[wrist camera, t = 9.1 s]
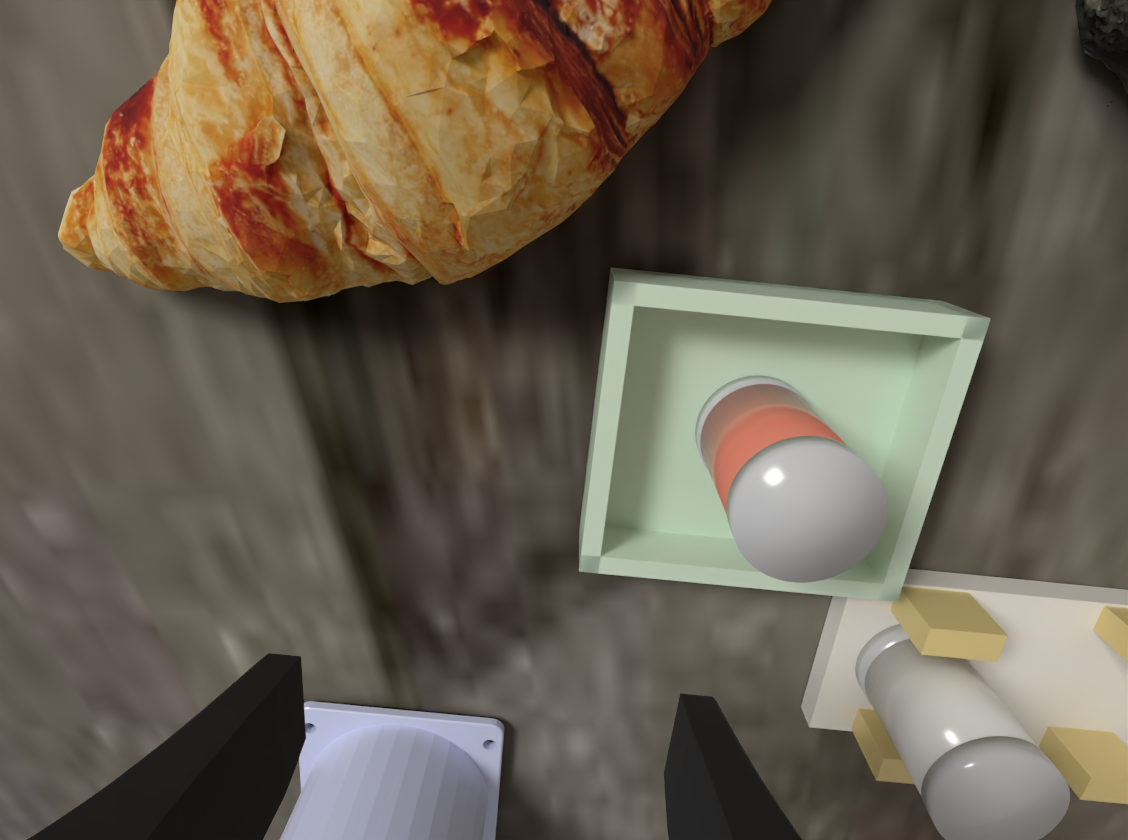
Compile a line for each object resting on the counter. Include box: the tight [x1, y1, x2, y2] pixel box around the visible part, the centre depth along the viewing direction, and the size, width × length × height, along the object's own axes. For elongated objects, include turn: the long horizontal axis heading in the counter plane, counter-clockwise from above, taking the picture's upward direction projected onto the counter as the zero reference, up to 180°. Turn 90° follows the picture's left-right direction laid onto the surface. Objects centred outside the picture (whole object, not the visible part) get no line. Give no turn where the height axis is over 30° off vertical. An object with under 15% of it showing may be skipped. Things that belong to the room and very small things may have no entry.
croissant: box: [58, 0, 772, 303], centre depth 16 cm, size 21×10×8 cm, turn 115°
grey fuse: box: [855, 624, 1070, 840], centre depth 21 cm, size 4×4×6 cm
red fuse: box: [695, 375, 888, 583], centre depth 18 cm, size 4×4×6 cm
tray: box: [579, 267, 990, 602], centre depth 20 cm, size 9×10×2 cm
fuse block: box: [801, 569, 1128, 804], centre depth 23 cm, size 6×20×3 cm, turn 84°
